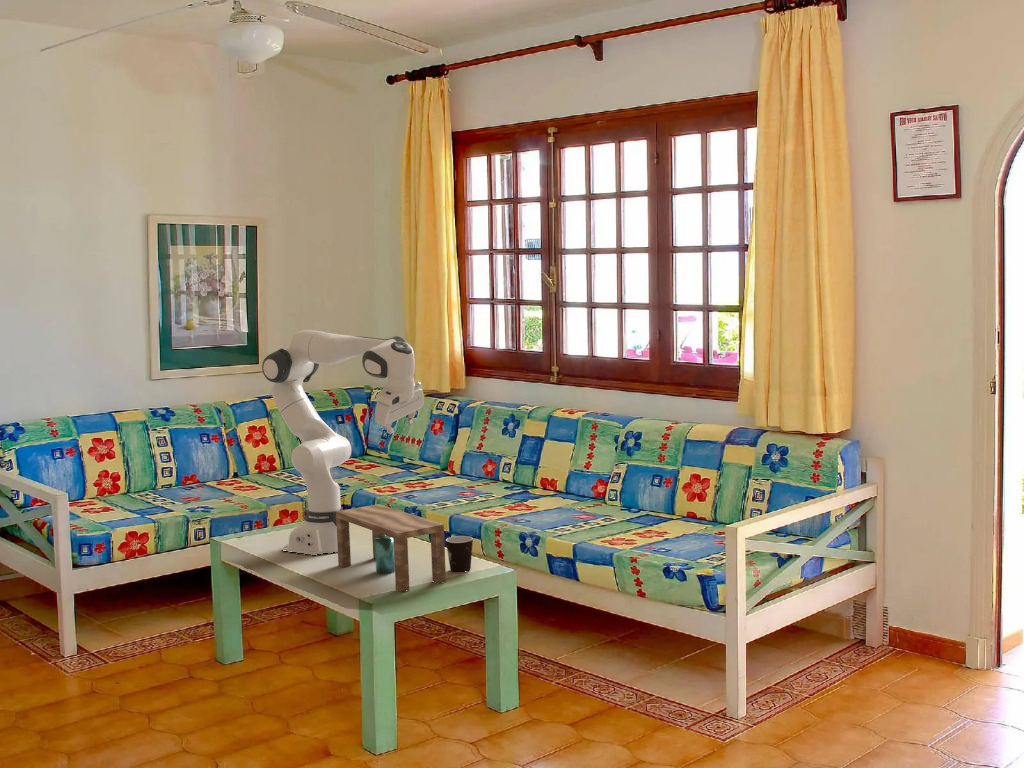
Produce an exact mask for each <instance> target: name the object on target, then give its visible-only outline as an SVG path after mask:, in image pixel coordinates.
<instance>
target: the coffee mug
mask: <svg viewBox="0 0 1024 768" xmlns="http://www.w3.org/2000/svg"><path fill="white" fill-rule="evenodd" d="M473 543H474V538H473V537H472V536H466V535H456V536H449V537H447V538H446V539H445V545H446V549H447V550H446V551H447V557H448V561H449V562H448V564H449V569H450V572H451V571H452V572H451V573H454V572H464V573H466V572H465V571H468V572H470V571H471V570H470V569H472V557H473V555H472V554H473V545H474V544H473ZM469 570H470V571H469Z"/></svg>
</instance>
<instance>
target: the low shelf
mask: <svg viewBox="0 0 1024 768" xmlns="http://www.w3.org/2000/svg"><path fill="white" fill-rule="evenodd" d="M350 523H351V524H352V525H356V526H357V527H358V526H359V527H362V528H365V529H367V530H370V531H371V532H372V534H371V535H372V536H371V537H372V538H371V539H372V555H373V556H372V557H373V559H374V558H375V537H378V536H389V537H392V538H394V560H395V572H394V580H395V590H398V591H397V592H399V591H400V592H399V593H402V592H401V591H405V592H407V591H406V590H409V591H410V567H409V566H410V565H409V545H408V544H409V543H408V542H409V541H408V539H409V538H410V539H411V538H415V537H420V536H426V535H430V549H431V551H430V552H431V553H430V554H431V557H430V558H431V578H432V581H434V582H436V583H435V584H437V583H439V584H443V583H447V575H446V574H447V573H446V571H447V569H446V548H445V545H446V542H445V524H444V523H440V522H437V521H434V520H432V519H427V518H425V517H421V516H418V515H415V514H412V513H409V512H405V511H402V510H399V509H395V508H393V507H389V506H386V505H382V504H380V503H377V504H372V505H365V506H360V507H355V508H354V507H353V508H350V509H349V508H348V509H342V511H336V524H337V544H338V552H337V562H338V564H337V565H338V566H339V565H340V566H339V567H341V566H342V567H341V568H346V567H351V566H352V557H351V539H350ZM375 560H376V558H375ZM350 565H351V566H350ZM345 566H346V567H345ZM434 582H433V583H434ZM442 582H443V583H442Z"/></svg>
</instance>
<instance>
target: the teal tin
mask: <svg viewBox="0 0 1024 768" xmlns="http://www.w3.org/2000/svg"><path fill="white" fill-rule="evenodd" d="M375 558H376V559H375V573H376V574H378V575H389V574H388V573H390V574H393V573H395V572H394V571H395V560H394V538H392V537H389V536H386V535H385V536H378V537H375ZM392 572H393V573H392Z"/></svg>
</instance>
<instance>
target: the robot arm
mask: <svg viewBox="0 0 1024 768" xmlns="http://www.w3.org/2000/svg"><path fill="white" fill-rule="evenodd" d="M289 342H290V343H289V347H288V348H285V349H284V348H280V349H278V350H276V351H273V352H271V353H270V354H267V356H265V358H263V361H262V364H261V368H262V369H261V370H262V375H263V376H264V378H265V379H266V380H267V381H269V382H271V383H273V384H272V386H271V391H270V392H271V396H272V399H273V402H274V404H275V407H276V408H277V410H278V413H279V414H280V415H281V418H282V419H283V421H284V423H285V424H286V427H287V428H288V430H289V431H290V434H292V435H294V436H295V437H297V438H299V439H301V440H302V441H303V442H301V444H299V445H297V446H296V447H295V448H294V449H293V450H292V452H291V457H290V459H291V460H290V461H291V464H292V466H293V468H294V469H295V470H296V471H297V472H299V474H301V476H302V479H303V481H304V483H305V486H306V492H307V502H308V503H307V504H308V509H307V510H304V512H302V513H301V514H302V515H301V516H302V517H304V520H303V521H302V522H301V523H299V524H298V525H297V526H296V527H294V529H293V530H291V531H290V533H289V536H288V543H287V544H285V545H283V547H282V549H283V550H286V551H292V552H298V553H305V554H311V555H310V556H312V555H316V556H318V555H317V554H321V555H324V554H323V553H328V554H333V552H335V553H338V544H337V524H336V511H342V510H343V507H342V506H341V488H340V485H339V483H337V482H336V481H334V479H333V477H332V474H331V469H332V468H335V467H339V466H340V465H343V464H344V463H345V462H346V461H348V460H349V459H350V458H351V455H352V445H351V443H350V441H349V439H347V438H346V437H345V436H342V435H340V434H338V433H337V432H336V431H334V430H333V429H332V428H331V427H329V425H328V424H327V423H326V422H325V421H324V420H323V419H322V417H320V415H319V414H318V412H317V410H316V408H315V407H314V405H313V404H312V402H311V400H310V399H309V397H308V395H307V394H306V392H305V390H304V388H303V383H308V382H309V381H310V380H311V378H312V376H313V375H314V374H316V372H317V371H318V369H319V366H320V365H323V366H330V365H331V366H332V365H333V366H334V365H336V364H340V363H342V362H344V361H345V362H346V361H348V360H350V359H352V358H355V357H356V358H357V357H361V356H362V359H361V361H362V362H361V363H362V367H363V369H364V371H365V372H366V374H367V375H369V376H371V377H374V378H377V379H386V380H387V381H386V382H387V383H386V385H384V387H383V388H382V389H381V390H380V391H379V392H377V394H376V395H375V400H376V401H377V403H376V405H375V408H374V409H375V413H374V420H375V423H376V424H377V425H380V426H382V427H385V428H386V433H387V434H389V435H391V434H393V433H394V432H395V431H394V429H395V428H394V427H392V425H393V423H394V422H396V421H398V420H400V419H402V418H404V417H407V418H406V419H405V420H406V424H408V425H410V424H413V423H414V418H415V416H416V413H417V411H419V410H420V409H422V408H423V407H424V405H425V395H424V394H425V393H424V390H423V384H422V383H421V382H419V381H418V382H415V379H414V378H415V377H414V374H415V370H416V359H415V358H416V356H415V352H414V349H413V347H412V345H410V344H409V342H408V341H406V340H405V339H404V338H402V337H401V336H397V335H395V336H392V337H389V338H378V337H371V336H370V337H368V336H362V335H361V336H359V335H349V334H339V333H331V332H327V331H322V330H314V329H303V330H297V331H296V332H294V333H293V335H292V336H291V338H290V340H289ZM282 549H281V550H282ZM305 554H304V555H305Z"/></svg>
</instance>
